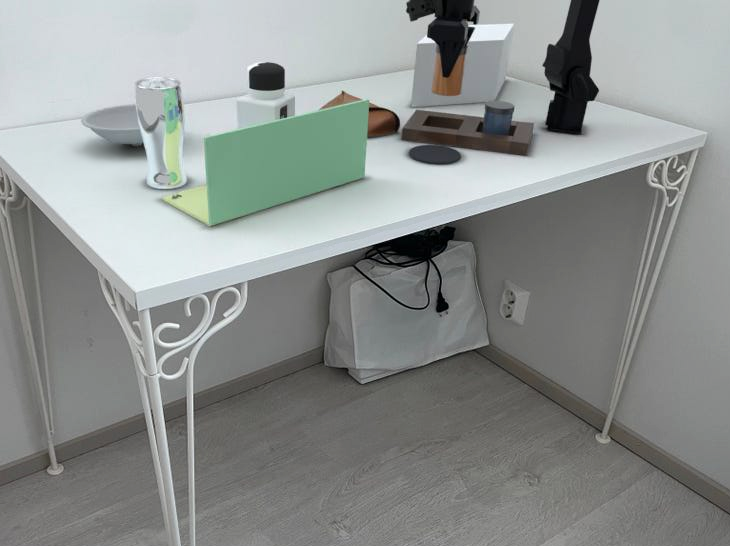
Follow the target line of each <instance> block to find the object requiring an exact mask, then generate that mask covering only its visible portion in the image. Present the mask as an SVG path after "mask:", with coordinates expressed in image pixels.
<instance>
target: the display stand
mask: <svg viewBox="0 0 730 546" xmlns="http://www.w3.org/2000/svg"><path fill="white" fill-rule="evenodd" d="M369 102H370V99H369V98H365V99H362V100H361V101H356V102H352V103H348V104H344V105H339V106H335V107H331V108H326V109H322V110H319V109H317V110H318V111H317V110H314V111H310V112H306V113H300V114H297V115H296V114H295V116H292V117H288V118H284V119H279V120H275V121H271V122H266V123H262V124H258V125H254V126H249V127H245V128H241V129H233V130H229V131H224V132H219V133H215V134H211V135H207V136H203V149H204V164H205V165H204V167H205V180H206V181H205V182H206V184H204V185H200V186H196V187H192V188H189V189H186V190H185V189H184V190H182V191H179V192H175V193H171V194H167V195H164V196H162V197H161V199H162V201H164V202H165V203H167V204H169V205H171V206H172V207H174V208H175V209H177V210H179V211H182V212H183V213H185V214H187V215H188V216H191V217H192V218H194V219H196V220H198V221H200V222H201V223H203V224H205V225H206V226H208V227H213V226H215V225H219V224H222V223H226V222H229V221H232V220H234V219H238V218H241V217H244V216H247V215H251V214H255V213H257V212H261V211H263V210H266V209H269V208H273V207H276V206H279V205H282V204H286V203H289V202H291V201H295V200H298V199H301V198H305V197H307V196H311V195H314V194H318V193H321V192H324V191H326V190H327V191H328V190H330V189H333V188H336V187H340V186H342V185H345V184H349V183H352V182H355V181H358V180H361V179H364V178H365V175H366V161H367V146H368V145H367V144H368V143H367V141H368V136H367V129H368V114H369Z"/></svg>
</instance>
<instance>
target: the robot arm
mask: <svg viewBox="0 0 730 546" xmlns="http://www.w3.org/2000/svg"><path fill="white" fill-rule="evenodd" d="M405 3H406V9H405V12H406V13H407V14H408V18H409V22H411V23H412V22H415V21H418V20H419V19H421V18H424V17H428V16H430V15H431V16H432V15H433V14H434V16H433V18H434V19H433V20H432V21H431V22H430V23H429V24H427V30H426V31H427V33H426V35H427V38H431V39H432V40H433V41H434V42H435V43H436V44H437V45H438V46H439V50H440V58H441V66H442V75H443V77H446V78H448V77H449V76H450V74H451V72H452V70H453V68H454V66H455V64H456V62H457V60H458V57H459V55H460V53H461V51H462V49H463V47H464V45H467V44H468V42H469V40H470V38H471V36H472V34H473V32H474V30H475V27H468V25H469V24H468V23H472V25H479V22H480V16H481V15H480V14H481V11H480V10H479V9H478V7H477V5H475V0H408V1H406V2H405ZM599 5H600V0H570V2H569V7H568V10H567V15H566V19H565V23H564V27H563V32H562V34H561V36H560V37H559V39H558V40H557V42H555V44H553V43H548V45H547V48H546V56H545V59H544V62H543V63H542V67H543V68H544V72H543V74H544V76H545V78H546V80H547V81H548V85H549V90H550V91H551V92H554V96H553V99H550V100H549V104H548V108H547V113H546V119H545V125H546V126H547V127H546V130H547V131H551V132H559V133H569V134H576V135H582V133H583V124H584V121H585V116H586V113H587V107H588V103H589V102H594V101H595V100H596V98H597V96H598V94H599V92H600V89H599V87H598V86H597V85H596V83H595V81H594V79H592V77H591V70H592V61H593V56H592V49H591V42H590V41H591V40H590V39H591V35H592V31H593V27H594V23H595V19H596V16H597V12H598V9H599Z"/></svg>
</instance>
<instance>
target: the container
mask: <svg viewBox="0 0 730 546" xmlns="http://www.w3.org/2000/svg"><path fill="white" fill-rule="evenodd" d="M246 91H247V93H246V94H244V95H242V96H239V97H238V98H236V127H237V129H241V128H245V127H249V126H254V125H258V124H262V123H266V122H271V121H275V120H279V119H284V118H288V117H292V116H296V96H295V94H294V93H293V94H292V93H287V92H286V69H285V68H284V66H282V64H281V65H280V64H278V63H276V62H270V61H260V62H255V63H252V64H250V65H248V66H247V68H246Z"/></svg>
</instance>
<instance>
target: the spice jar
mask: <svg viewBox="0 0 730 546" xmlns="http://www.w3.org/2000/svg"><path fill="white" fill-rule="evenodd" d="M515 107H516V106H515V104H514V103H512V102H509V101H505V100H504V101H503V100H495V101H489V102H485V104H484V115H483V117H484V120H483V127H482V133H489V134H497V135H506V136H509V133H510V127H511V122H512V121H513V115H514V112H515Z"/></svg>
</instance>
